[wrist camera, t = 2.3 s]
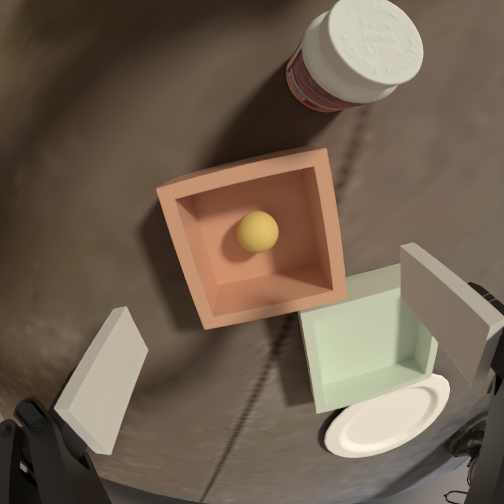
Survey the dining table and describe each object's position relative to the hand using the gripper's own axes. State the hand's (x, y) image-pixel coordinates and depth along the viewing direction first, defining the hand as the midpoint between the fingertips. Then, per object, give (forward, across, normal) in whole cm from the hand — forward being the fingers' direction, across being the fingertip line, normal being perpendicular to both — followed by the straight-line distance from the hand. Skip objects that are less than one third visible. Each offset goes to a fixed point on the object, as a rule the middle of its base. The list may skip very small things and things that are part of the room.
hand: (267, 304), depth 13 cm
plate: (+13, +13, -33) cm, 38 cm away
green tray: (+13, +9, -14) cm, 21 cm away
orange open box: (+13, 0, 0) cm, 13 cm away
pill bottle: (+13, +8, +11) cm, 19 cm away
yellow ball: (+12, 0, 0) cm, 12 cm away
